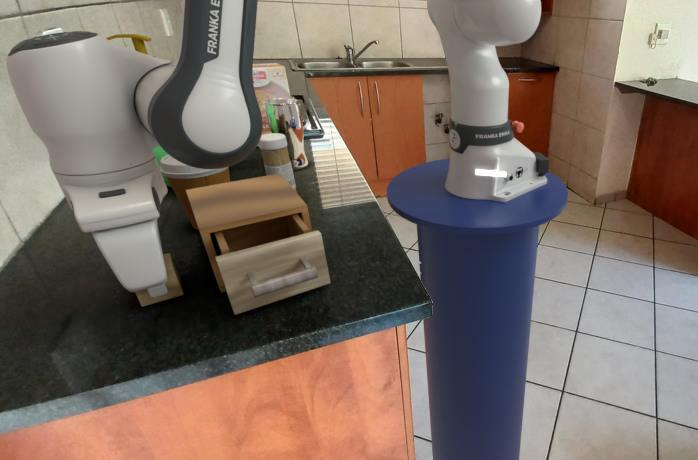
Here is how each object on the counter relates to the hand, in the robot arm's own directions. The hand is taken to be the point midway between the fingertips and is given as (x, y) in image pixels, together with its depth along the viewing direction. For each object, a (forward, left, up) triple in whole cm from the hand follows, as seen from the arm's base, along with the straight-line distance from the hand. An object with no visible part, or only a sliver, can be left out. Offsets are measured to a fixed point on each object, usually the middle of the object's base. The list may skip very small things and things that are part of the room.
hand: (158, 282), depth 56 cm
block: (0, 0, -2) cm, 2 cm away
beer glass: (-27, -41, -2) cm, 49 cm away
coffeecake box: (-26, -64, -2) cm, 69 cm away
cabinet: (-12, -3, -2) cm, 13 cm away
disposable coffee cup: (-8, -19, -2) cm, 21 cm away
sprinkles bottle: (-20, -20, -2) cm, 29 cm away
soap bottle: (-6, -68, -2) cm, 68 cm away
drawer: (-13, +7, -1) cm, 15 cm away
